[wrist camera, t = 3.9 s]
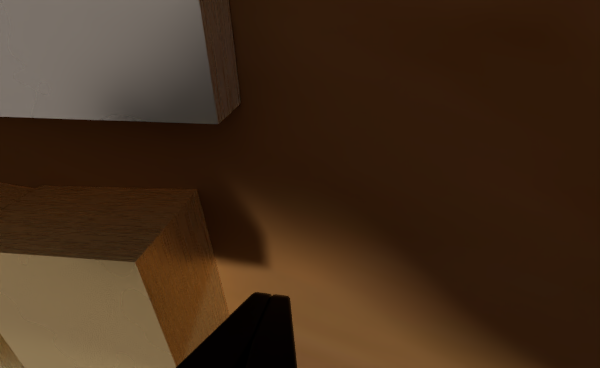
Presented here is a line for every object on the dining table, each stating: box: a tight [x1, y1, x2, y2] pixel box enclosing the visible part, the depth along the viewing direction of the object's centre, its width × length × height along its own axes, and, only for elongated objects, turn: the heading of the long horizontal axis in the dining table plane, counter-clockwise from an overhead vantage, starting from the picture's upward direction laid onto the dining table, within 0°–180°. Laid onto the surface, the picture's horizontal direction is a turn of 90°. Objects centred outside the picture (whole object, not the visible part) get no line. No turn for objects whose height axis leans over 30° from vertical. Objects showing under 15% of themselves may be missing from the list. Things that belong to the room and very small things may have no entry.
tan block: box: [0, 186, 230, 368], centre depth 9 cm, size 4×4×3 cm
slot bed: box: [0, 0, 241, 368], centre depth 10 cm, size 11×25×1 cm, turn 2°
